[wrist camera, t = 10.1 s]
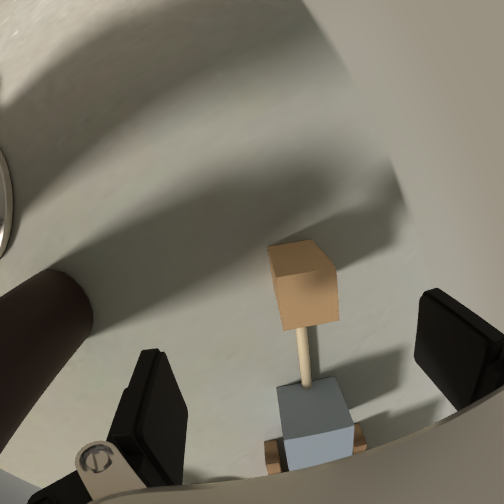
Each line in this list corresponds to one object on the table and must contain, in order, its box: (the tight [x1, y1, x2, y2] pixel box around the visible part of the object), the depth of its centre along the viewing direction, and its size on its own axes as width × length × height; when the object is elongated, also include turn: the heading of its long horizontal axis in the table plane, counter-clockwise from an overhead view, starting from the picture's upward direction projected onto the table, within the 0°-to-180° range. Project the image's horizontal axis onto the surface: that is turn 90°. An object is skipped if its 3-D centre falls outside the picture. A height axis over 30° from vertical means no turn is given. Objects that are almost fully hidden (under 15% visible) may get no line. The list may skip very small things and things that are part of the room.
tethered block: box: [267, 239, 355, 471], centre depth 20 cm, size 17×5×6 cm, turn 10°
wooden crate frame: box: [264, 423, 367, 475], centre depth 23 cm, size 10×9×9 cm
